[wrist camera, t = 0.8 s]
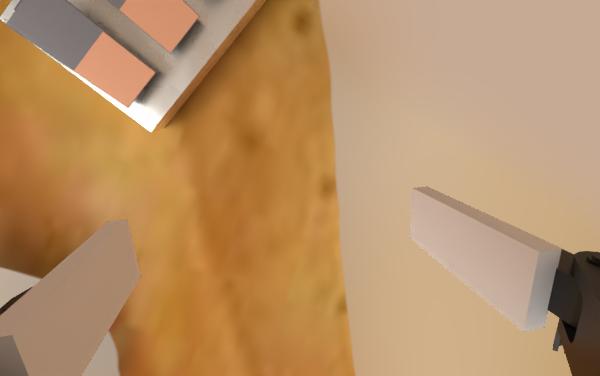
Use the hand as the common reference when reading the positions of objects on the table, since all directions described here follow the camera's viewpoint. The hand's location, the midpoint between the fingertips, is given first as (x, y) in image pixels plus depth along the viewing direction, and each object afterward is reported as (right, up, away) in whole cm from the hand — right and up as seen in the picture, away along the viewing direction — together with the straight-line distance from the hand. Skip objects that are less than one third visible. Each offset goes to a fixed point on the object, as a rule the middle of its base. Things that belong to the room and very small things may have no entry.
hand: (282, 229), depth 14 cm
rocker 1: (-16, +13, +11) cm, 24 cm away
